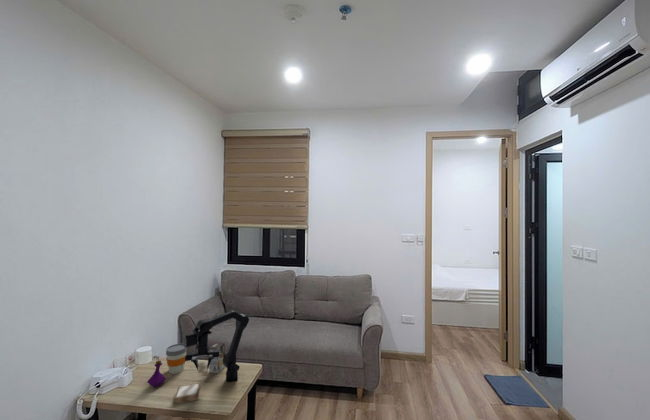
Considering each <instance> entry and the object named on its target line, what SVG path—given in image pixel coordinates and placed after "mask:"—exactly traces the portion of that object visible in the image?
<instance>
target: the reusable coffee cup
mask: <svg viewBox="0 0 650 420" xmlns="http://www.w3.org/2000/svg"><path fill="white" fill-rule="evenodd" d="M187 350H188V347H186V348H185V347H184V344H183V343H175V344H171V345H170V346H168V347H166V350H165V356H166V363H167V367H168V373H169V374H171V375H174V374H179V373H182V372H183V371H184V370H185V365H186V362H187V361H185V356H186V353H187V352H188V351H187Z"/></svg>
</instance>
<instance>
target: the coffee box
mask: <svg viewBox="0 0 650 420" xmlns="http://www.w3.org/2000/svg"><path fill="white" fill-rule="evenodd" d="M225 344H226V343H225V342H218V341H217V342H215V343H214V344H213V345H211V346H209V351H208V352H211V351H213V349H220V356H219V357H215V358H214V359H212V360H211V362H210V365H209V368H208V373H212V374H213V373H215V374H219V373H220V372H221V371H222V370H223V369H224V368H226V367H225V366H224V365H223V361H222V360H223V358H224V354H226V347H225Z"/></svg>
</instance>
